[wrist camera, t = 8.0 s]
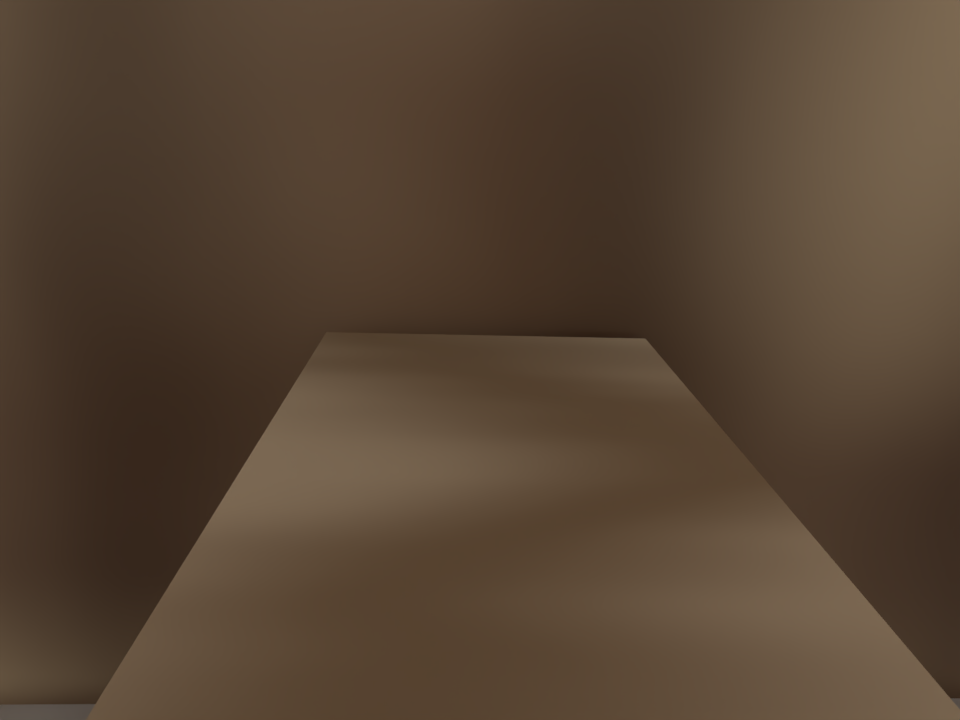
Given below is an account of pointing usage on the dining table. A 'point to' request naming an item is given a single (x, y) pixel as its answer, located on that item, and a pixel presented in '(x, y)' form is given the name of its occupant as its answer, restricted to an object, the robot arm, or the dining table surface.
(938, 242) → the walnut board
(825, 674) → the block
